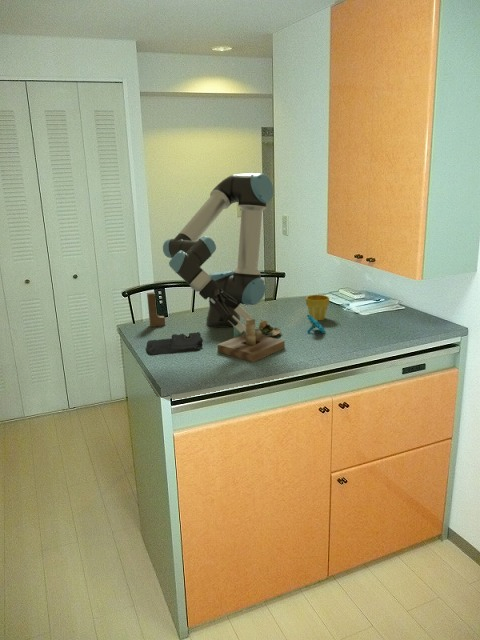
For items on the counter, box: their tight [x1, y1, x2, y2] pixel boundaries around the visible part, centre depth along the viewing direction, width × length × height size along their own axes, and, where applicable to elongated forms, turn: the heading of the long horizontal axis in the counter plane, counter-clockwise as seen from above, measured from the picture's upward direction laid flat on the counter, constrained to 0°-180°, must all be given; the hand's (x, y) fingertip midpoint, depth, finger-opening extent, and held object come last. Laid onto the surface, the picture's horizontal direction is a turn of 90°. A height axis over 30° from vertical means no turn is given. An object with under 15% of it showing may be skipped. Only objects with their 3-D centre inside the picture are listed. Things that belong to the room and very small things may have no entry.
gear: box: [306, 314, 326, 334], centre depth 212 cm, size 11×6×10 cm
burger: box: [255, 320, 282, 338], centre depth 211 cm, size 12×12×8 cm
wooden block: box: [146, 291, 166, 328], centre depth 230 cm, size 7×3×15 cm, turn 106°
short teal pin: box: [232, 326, 244, 338], centre depth 206 cm, size 4×4×7 cm
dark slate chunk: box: [146, 331, 204, 356], centre depth 202 cm, size 15×22×5 cm
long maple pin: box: [244, 318, 256, 346], centre depth 193 cm, size 4×4×12 cm
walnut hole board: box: [216, 333, 286, 363], centre depth 195 cm, size 18×18×3 cm
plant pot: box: [305, 294, 330, 321], centre depth 230 cm, size 10×10×10 cm
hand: (246, 324), depth 192 cm, fingers open, 13 cm apart
